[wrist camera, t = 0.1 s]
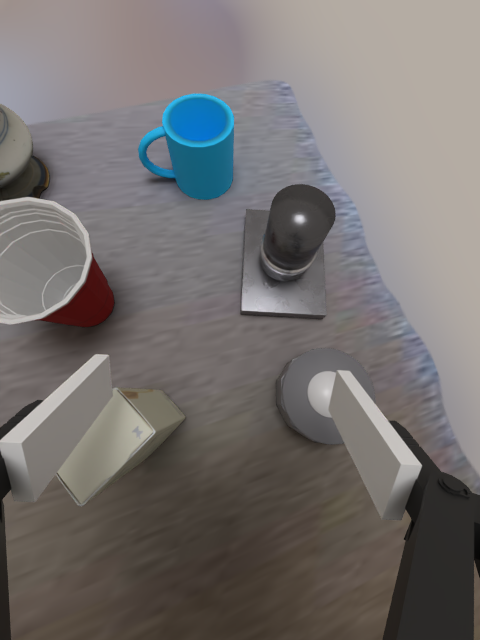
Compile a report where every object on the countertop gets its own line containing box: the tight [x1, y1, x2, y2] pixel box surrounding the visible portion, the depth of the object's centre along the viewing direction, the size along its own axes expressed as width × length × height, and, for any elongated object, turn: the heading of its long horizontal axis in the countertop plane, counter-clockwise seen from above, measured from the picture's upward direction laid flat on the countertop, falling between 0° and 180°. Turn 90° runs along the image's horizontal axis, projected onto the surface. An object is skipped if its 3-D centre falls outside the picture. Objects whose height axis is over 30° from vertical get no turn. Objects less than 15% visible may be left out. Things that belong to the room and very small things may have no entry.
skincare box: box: [55, 387, 186, 506], centre depth 23 cm, size 6×4×12 cm
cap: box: [276, 348, 375, 444], centre depth 29 cm, size 9×9×4 cm
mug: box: [138, 94, 234, 200], centre depth 35 cm, size 12×8×8 cm
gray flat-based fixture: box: [241, 184, 335, 319], centre depth 30 cm, size 14×10×10 cm
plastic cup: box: [0, 197, 114, 327], centre depth 27 cm, size 11×11×12 cm
